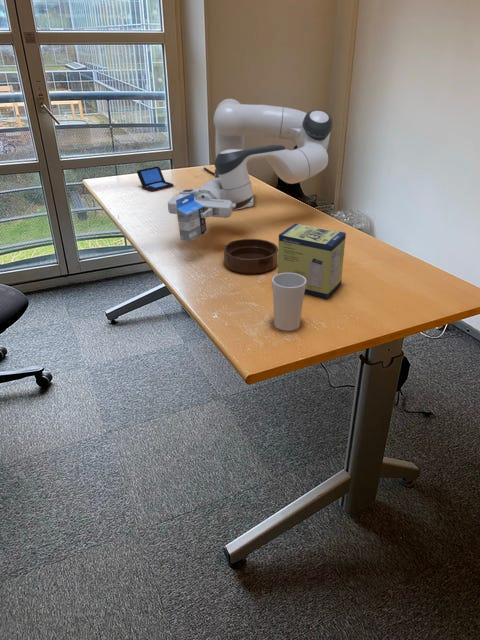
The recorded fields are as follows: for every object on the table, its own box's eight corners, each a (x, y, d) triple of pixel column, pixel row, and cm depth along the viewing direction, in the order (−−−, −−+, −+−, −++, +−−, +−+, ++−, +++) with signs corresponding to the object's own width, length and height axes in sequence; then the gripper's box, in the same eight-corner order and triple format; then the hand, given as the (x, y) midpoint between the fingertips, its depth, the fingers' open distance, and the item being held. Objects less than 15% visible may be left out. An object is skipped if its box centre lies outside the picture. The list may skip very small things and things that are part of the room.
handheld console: (151, 192, 220) (150, 175, 216) (137, 187, 227) (135, 170, 223) (174, 186, 228) (173, 169, 224) (160, 181, 234) (158, 165, 231)
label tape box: (190, 242, 150) (186, 201, 144) (179, 239, 152) (175, 199, 146) (207, 232, 157) (204, 193, 151) (196, 230, 159) (193, 192, 153)
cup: (268, 316, 127) (270, 273, 121) (299, 314, 128) (302, 272, 122) (273, 333, 120) (274, 288, 114) (306, 331, 121) (309, 286, 115)
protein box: (291, 272, 149) (294, 222, 141) (341, 284, 142) (347, 232, 134) (275, 286, 141) (277, 234, 133) (327, 299, 135) (333, 245, 127)
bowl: (231, 251, 163) (231, 236, 161) (281, 255, 160) (282, 240, 157) (218, 272, 149) (217, 257, 147) (272, 277, 146) (273, 262, 144)
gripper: (237, 213, 163) (226, 228, 151) (177, 208, 167) (162, 222, 155) (237, 194, 160) (226, 207, 148) (176, 189, 164) (160, 202, 152)
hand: (193, 215), depth 152 cm, fingers closed on label tape box, 4 cm apart
